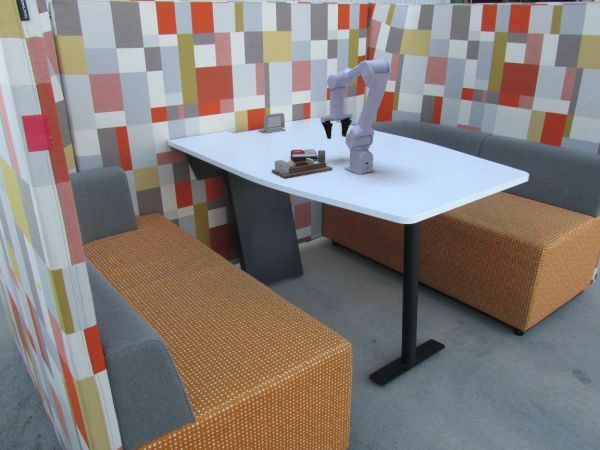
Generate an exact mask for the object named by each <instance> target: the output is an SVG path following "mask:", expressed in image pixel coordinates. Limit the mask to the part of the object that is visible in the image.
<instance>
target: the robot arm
mask: <svg viewBox="0 0 600 450" xmlns="http://www.w3.org/2000/svg"><path fill="white" fill-rule="evenodd" d="M391 74H392V68H391V64H390V62H389V60H388V59H386V58H383V59H371V60H367V59H366V60H362V61H360V62H359V63H358V64H357V65H356V66H354V67H353V68H349V67H344V68H343V70H342V71H338V72H337V74H330V75H329V76H328V77H327V80H326V83H327V84H326V85H327V88H328V89H329V115H325V116H324V115H323V116H320V122H321V125H322V126H323V129H324V131H325V135H326V139H328V140H332V130H333V129H332V128H333V124H334V123H333V122H334V121H340V126H341V137H343V138H345V145H346V146H347V147H348V149H349V166H348V167H347V166H346V167H344V169H345V170H347V171H350V172H351V173H355V174H358V175H361V174H366V173H371V172H372V173H373V172H375V169H373V168H374V154H373V153H372V152H371V151H370V149H371V145H372V144H373V142H374V135H375V131H374V129H373V128H372V126H373V123H374V120H375V118H376V116H377V114H378V110H379V108H380V106H381V103H382V100H383V98H384V95H385V92H386V89H387V83H388V81H389V78H390V76H391ZM360 76H361V78H362V79H363V82H364V84H365V86H366V88H369V91H368V93H367V96H366V98H365V101H364V105H363V107H362V110H361V112H360V115H359V118H358V121H357V124H355V125H354V126H353V127H351V128H350V126H351V124H352V123H353V121H352V120H353V114H352V113H345V93H346V88H347V86H348V85H350V84H352V83H354V82H355V81H356V79H357V77H360ZM349 128H350V130H349ZM348 130H349V132H348Z"/></svg>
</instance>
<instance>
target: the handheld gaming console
mask: <svg viewBox="0 0 600 450" xmlns="http://www.w3.org/2000/svg"><path fill="white" fill-rule="evenodd" d="M285 119H286V118H285V113H283V112H277V113H271V114H270V113H269V114H265V115H263V128H261V129H257V132H258V131H259V132H258V133H262V134H264V133H265V134H264V135H266V133H267V134H272V133H273V132H274V133H278V132H279V133H281V132H285V131H286V129H285V128H286V126H285V125H286V123H285ZM280 131H281V132H280ZM274 133H273V134H274Z"/></svg>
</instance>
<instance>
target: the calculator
mask: <svg viewBox="0 0 600 450" xmlns="http://www.w3.org/2000/svg"><path fill="white" fill-rule="evenodd" d="M306 158H310V159H313V160H314V159H317V160H318V153H317V151H316V150H315V148H310V149H308V148H307V149H292V150H291V151H290V159H291V160H290V161H293V162H295V163H296V162H302V161H306Z"/></svg>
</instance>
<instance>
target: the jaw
mask: <svg viewBox="0 0 600 450" xmlns="http://www.w3.org/2000/svg"><path fill="white" fill-rule="evenodd" d="M317 156H318V161H314V160H313V159H310V158H306V165H311V164H316V163H322V162H325V163H326V166H328V165H327V164H328V163H327V162H326V150H318V151H317Z"/></svg>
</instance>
